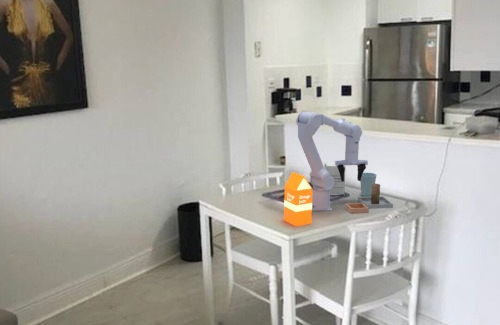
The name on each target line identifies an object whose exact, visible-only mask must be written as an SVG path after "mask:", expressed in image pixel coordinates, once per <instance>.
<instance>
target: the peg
mask: <svg viewBox="0 0 500 325" xmlns="http://www.w3.org/2000/svg"><path fill="white" fill-rule="evenodd" d="M380 197H381V184H379V183H375V184H372V193H371V204H379V199H380Z"/></svg>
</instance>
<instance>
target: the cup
mask: <svg viewBox="0 0 500 325" xmlns="http://www.w3.org/2000/svg"><path fill="white" fill-rule="evenodd" d="M376 178H377V174H376V173H375V172H363V174H362V177H361V180H360V181H359V182H360V195H361V197H371V193H372V184H376V180H377V179H376Z"/></svg>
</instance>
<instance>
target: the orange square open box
mask: <svg viewBox="0 0 500 325" xmlns="http://www.w3.org/2000/svg"><path fill="white" fill-rule="evenodd" d="M344 204H345V210H347V212H348V213H350V214H369V210H370V208H368V207H367V206H366V205H364V204H363V203H360V202H354V203H353V202H352V203H344Z"/></svg>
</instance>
